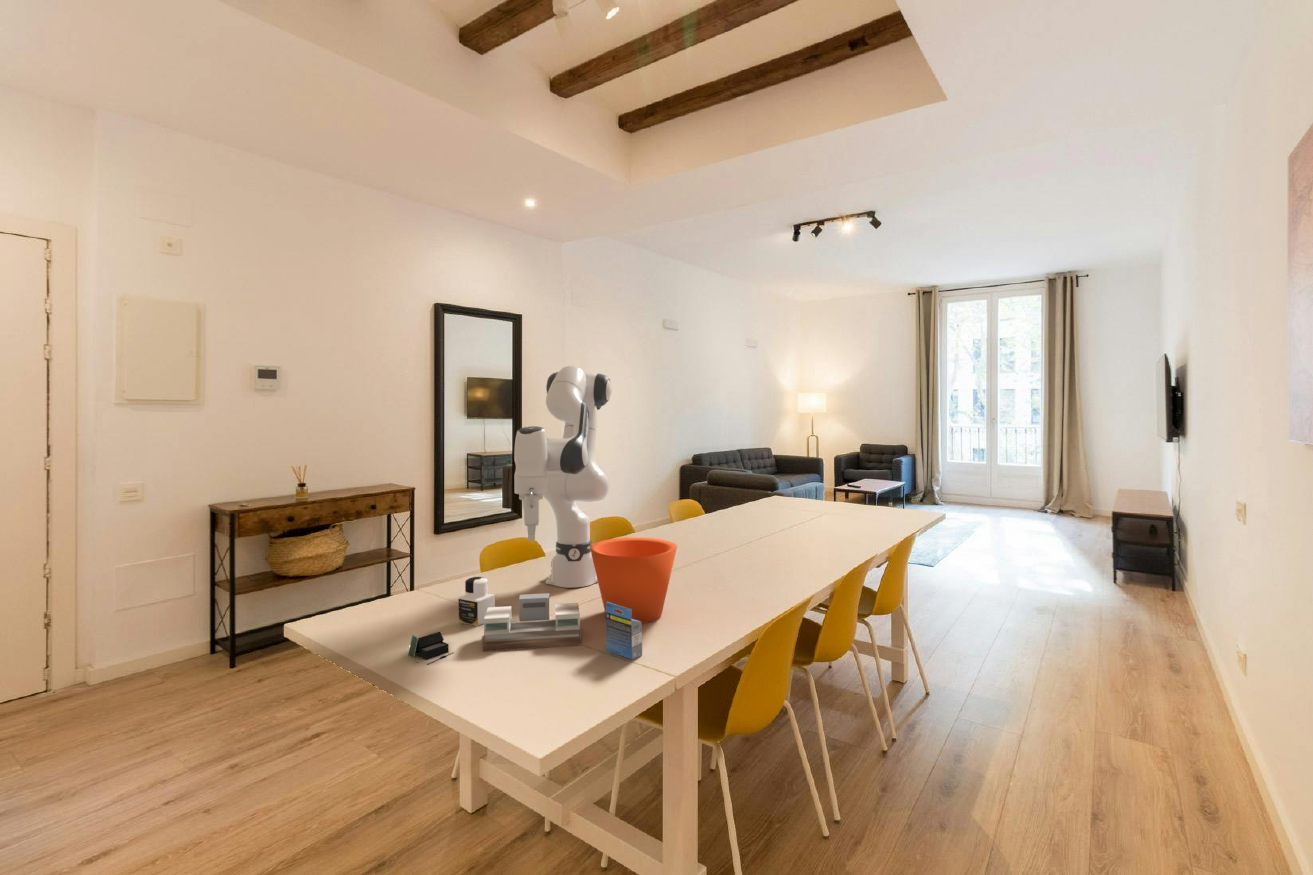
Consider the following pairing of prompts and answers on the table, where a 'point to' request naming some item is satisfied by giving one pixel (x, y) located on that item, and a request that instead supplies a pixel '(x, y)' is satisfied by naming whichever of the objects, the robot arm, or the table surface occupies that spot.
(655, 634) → the table surface
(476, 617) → the medicine bottle
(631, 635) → the label tape box
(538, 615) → the block
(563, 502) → the robot arm
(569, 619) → the rail board
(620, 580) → the flowerpot
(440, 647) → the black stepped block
